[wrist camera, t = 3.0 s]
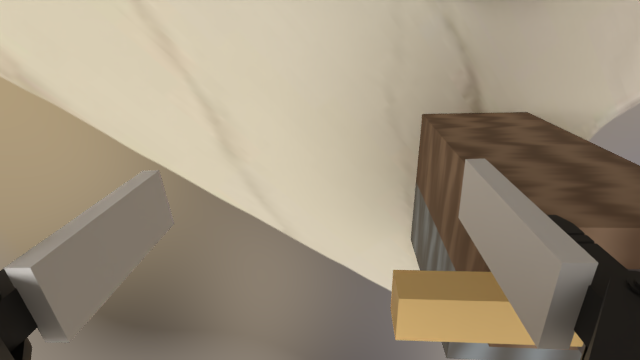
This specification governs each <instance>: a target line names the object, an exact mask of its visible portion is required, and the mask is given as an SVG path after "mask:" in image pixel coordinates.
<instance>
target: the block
mask: <svg viewBox="0 0 640 360" xmlns="http://www.w3.org/2000/svg"><path fill="white" fill-rule="evenodd" d="M628 270H629V271H639V272H640V269H628ZM391 314H392V321H393V327H394V333H395V339H396V340H410V341H440V342H465V343H492V344H520V345H535V344H534V342H533V340H532V339H531V337H530V335H529V334H528V332H527V330H526V329H525V327H524V325H523V324H522V322H521V320H520V319H519V317H518V315H517V314H516V312H515V310H514V309H513V307H512V305H511V304H510V302H509V301H508V299H507V297H506V296H505V294H504V292H503V291H502V289H501V287H500V286H499V284H498V282H497V281H496V279H495V277H494V276H493V274H492V272H470V271H419V270H393V282H392V296H391ZM570 346H575V347H577V348H578V350H579V351H580V352H581V354H583V351H584V348H585V344H584V343H583V342H582V340H581V339H580V338H579V336H578V335H577V334H576V332H575V333H574V336H573V339H572V342H571V345H570Z"/></svg>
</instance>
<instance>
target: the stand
mask: <svg viewBox="0 0 640 360" xmlns="http://www.w3.org/2000/svg"><path fill="white" fill-rule="evenodd" d="M484 158H485V159H486V160H487V161H488V162H489V163H490V164H492V165H493V166H494V167H495V168H496V169H497V170H498V171H499V172H500V173H501V174H502V175H504V176H505V177H506V178H507V179H508V180H509V181H510V182H511V183H512V184H513V185H514V186H515V187H517V188H518V189H519V190H520V191H521V192H522V193H523V194H524V195H525V196H526V197H527V198H529V199H530V200H531V201H532V202H533V203H534V204H535V205H536V206H537V207H538V208H539V209H540V210H542V211H543V212H544V213H545V214H546V215H558V216H560V217H562V218H564V219H566V220H568V221H570V222H572V223H573V224H575V225H576V226H577V227H578V228H579V229H580V230H582V231H583V232H584V233H585V235H587V236H589V237H590V238H591V239H592V240H593V241H594V243H595V244H598V245H599V246H600V247H602V248H603V249H604V250H605V251H606V252H608V253H609V254H610V255H611V256H612V257H613V258H615V259H616V260H617V261H618V262H619V263H620V264H622V265H623V266H624V267H625V268H626V269H640V166H639V165H637V164H635V163H633V162H631V161H628V160H626V159H624V158H622V157H620V156H618V155H616V154H614V153H612V152H610V151H607V150H605V149H603V148H601V147H599V146H597V145H595V144H593V143H591V142H589V141H587V140H584V139H582V138H580V137H578V136H576V135H574V134H572V133H570V132H568V131H566V130H563V129H561V128H559V127H557V126H555V125H553V124H551V123H549V122H547V121H545V120H542V119H540V118H538V117H536V116H534V115H532V114H530V113H528V112H516V113H461V114H422V125H421V135H420V146H419V157H418V168H417V178H416V189H415V200H414V211H413V221H412V232H411V242H412V245H413V248H414V252H415V255H416V258H417V262H418V265H419V268H420V271H470V272H491V271H490V269H489V267H488V266H487V264H486V262H485V261H484V259H483V257H482V256H481V254H480V253H479V251H478V249H477V248H476V246H475V244H474V243H473V241H472V239H471V238H470V236H469V234H468V233H467V231H466V229H465V228H464V226H463V224H462V223H461V221H460V219H459V218H458V217H459V209H460V200H461V192H462V184H463V176H464V167H465V159H484ZM442 345H443V348H444V351H445V354H446V358H454V359H478V360H479V359H480V360H580V359H581V356H582V354H581V352H580V351H579V350H578V348H577V347H575V346H570V347H569V349H537V347H536V345H520V344H492V343H465V342H442Z"/></svg>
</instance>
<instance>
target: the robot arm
mask: <svg viewBox="0 0 640 360" xmlns="http://www.w3.org/2000/svg"><path fill="white" fill-rule="evenodd" d="M458 218H459V219H460V221H461V223H462V224H463V226H464V228H465V229H466V231H467V233H468V234H469V236H470V238H471V239H472V241H473V243H474V244H475V246H476V248H477V249H478V251H479V253H480V254H481V256H482V257H483V259H484V261H485V262H486V264H487V266H488V267H489V269H490V271H491V272H492V274H493V276H494V277H495V279H496V281H497V282H498V284H499V286H500V287H501V289H502V291H503V292H504V294H505V296H506V297H507V299H508V301H509V302H510V304H511V305H512V307H513V309H514V310H515V312H516V314H517V315H518V317H519V319H520V320H521V322H522V324H523V325H524V327H525V329H526V330H527V332H528V334H529V335H530V337H531V339H532V340H533V342H534V344H535V345H536V347H537V349H569V347H570V345H571V342H572V339H573V336H574V333H575V332H576V334H577V335H578V336H579V338H580V339H581V340H582V342H583V343H584V344H585V348H584V351H583V354H582V356H581V359H580V360H640V272H639V271H629V270H628V269H626V268H625V267H624V266H623V265H622V264H620V263H619V262H618V261H617V260H616V259H615V258H613V257H612V256H611V255H610V254H609V253H608V252H606V251H605V250H604V249H603V248H602V247H600V246H599V245H598V244H595V243H594V241H593V240H592V239H591V238H590V237H589V236H587V235H585V233H584V232H583V231H582V230H580V229H579V228H578V227H577V226H576V225H575V224H573V223H572V222H570V221H568V220H566V219H564V218H562V217H560V216H558V215H546V214H545V213H544V212H543V211H542V210H540V209H539V208H538V207H537V206H536V205H535V204H534V203H533V202H532V201H531V200H530V199H529V198H527V197H526V196H525V195H524V194H523V193H522V192H521V191H520V190H519V189H518V188H517V187H515V186H514V185H513V184H512V183H511V182H510V181H509V180H508V179H507V178H506V177H505V176H504V175H502V174H501V173H500V172H499V171H498V170H497V169H496V168H495V167H494V166H493V165H492V164H490V163H489V162H488V161H487V160H486V159H485V158H484V159H465V167H464V176H463V184H462V192H461V200H460V209H459V217H458ZM173 224H174V220H173V217H172V213H171V210H170V207H169V203H168V199H167V196H166V193H165V189H164V185H163V182H162V178H161V175H160V171H159V170H149V171H142V172H140V173H139V174H137V175H136V176H135V177H133V178H132V179H130V180H129V181H127V182H126V183H124V184H123V185H122V186H120V187H119V188H117V189H116V190H115V191H113V192H112V193H110V194H109V195H107V196H106V197H104V198H103V199H102V200H100V201H99V202H97V203H96V204H94V205H93V206H92V207H90V208H89V209H87V210H86V211H84V212H83V213H82V214H80V215H79V216H77V217H76V218H74V219H73V220H71V221H70V222H69V223H67V224H66V225H64V226H63V227H62V228H60V229H59V230H57V231H56V232H54V233H53V234H51V235H50V236H49V237H47V238H46V239H44V240H43V241H41V242H40V243H39V244H37V245H36V246H34V247H33V248H32V249H30V250H29V251H27V252H26V253H25V254H23V255H22V256H20V257H18V258H17V259H16V260H14V261H13V262H11V263H10V264H9V265H7V266H6V267H4V269H2V270H1V271H0V360H31V352H32V346H31V343H30V341H29V340H28V338H27V337H28V336H29V335H30V334H31V333H32V332H33V331H34V330H35V329H36V328H38V330H39V332H40V333H41V335H42V337H43V339H44V340H45V342H56V343H57V342H59V343H60V342H61V343H70V342H71V340H72V339H73V338H74V337H75V336H76V335H77V334H78V332H79V331H80V330H81V329H82V328H83V327H84V326H85V324H86V323H87V322H88V321H89V320H90V319H91V318H92V316H93V315H94V314H95V313H96V312H97V311H98V310H99V309H100V307H101V306H102V305H103V304H104V303H105V302H106V301H107V299H108V298H109V297H110V296H111V295H112V294H113V292H114V291H115V290H116V289H117V288H118V287H119V286H120V285H121V284H122V282H123V281H124V280H125V279H126V278H127V277H128V275H129V274H130V273H131V272H132V271H133V270H134V269H135V268H136V266H137V265H138V264H139V263H140V262H141V261H142V260H143V259H144V257H145V256H146V255H147V254H148V253H149V252H150V251H151V249H152V248H153V247H154V246H155V245H156V244H157V243H158V241H159V240H160V239H161V238H162V237H163V236H164V235H165V233H166V232H167V231H168V230H169V229H170V228H171V227H172V225H173Z"/></svg>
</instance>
